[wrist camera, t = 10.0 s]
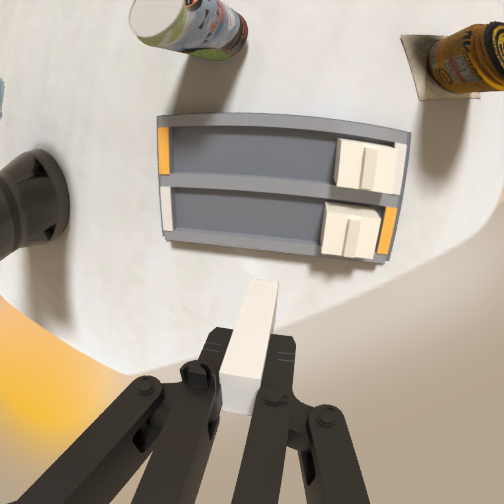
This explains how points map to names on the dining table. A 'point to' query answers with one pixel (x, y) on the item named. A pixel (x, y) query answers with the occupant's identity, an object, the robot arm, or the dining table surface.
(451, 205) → the dining table surface
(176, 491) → the robot arm
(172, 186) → the switch bank
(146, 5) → the beverage can
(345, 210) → the tab
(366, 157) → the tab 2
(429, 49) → the condiment
